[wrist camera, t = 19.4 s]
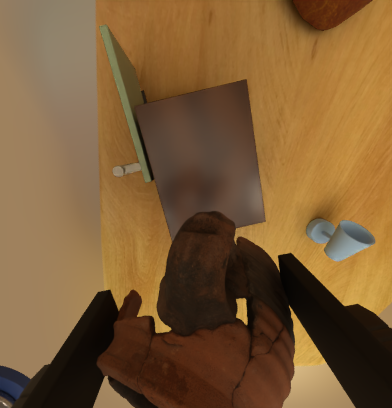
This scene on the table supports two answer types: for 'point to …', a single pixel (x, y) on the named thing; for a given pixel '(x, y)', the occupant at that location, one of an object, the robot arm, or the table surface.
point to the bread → (328, 11)
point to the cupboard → (204, 154)
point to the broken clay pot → (206, 327)
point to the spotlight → (340, 237)
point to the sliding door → (127, 103)
